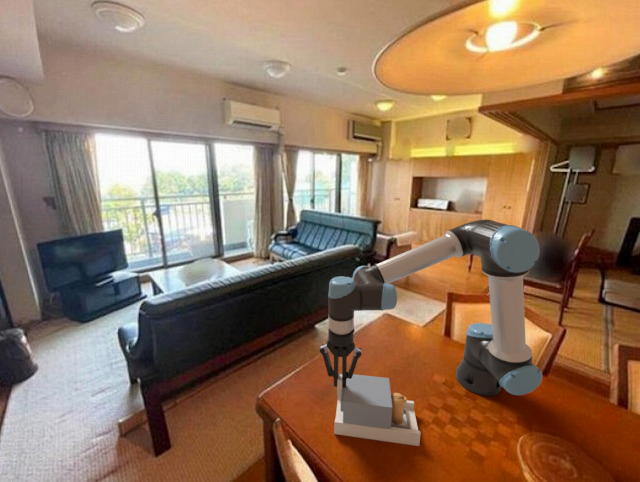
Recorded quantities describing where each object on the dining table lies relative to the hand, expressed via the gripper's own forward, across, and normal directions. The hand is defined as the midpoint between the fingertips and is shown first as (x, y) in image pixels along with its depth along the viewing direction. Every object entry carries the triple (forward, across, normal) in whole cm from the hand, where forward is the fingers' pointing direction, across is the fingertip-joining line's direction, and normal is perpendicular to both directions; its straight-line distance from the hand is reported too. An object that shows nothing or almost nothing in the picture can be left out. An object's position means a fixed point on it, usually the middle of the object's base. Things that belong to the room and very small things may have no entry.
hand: (339, 394), depth 89 cm
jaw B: (+7, -18, 0) cm, 19 cm away
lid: (+4, -8, 0) cm, 9 cm away
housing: (+9, -11, 0) cm, 15 cm away
